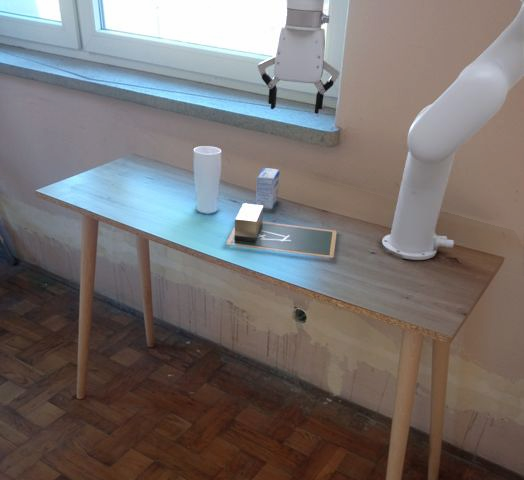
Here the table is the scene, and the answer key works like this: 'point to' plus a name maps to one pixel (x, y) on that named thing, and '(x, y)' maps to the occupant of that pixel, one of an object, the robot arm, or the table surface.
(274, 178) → the medicine box
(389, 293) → the table surface
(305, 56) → the robot arm
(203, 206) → the drinking glass
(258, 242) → the slate
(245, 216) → the eraser
